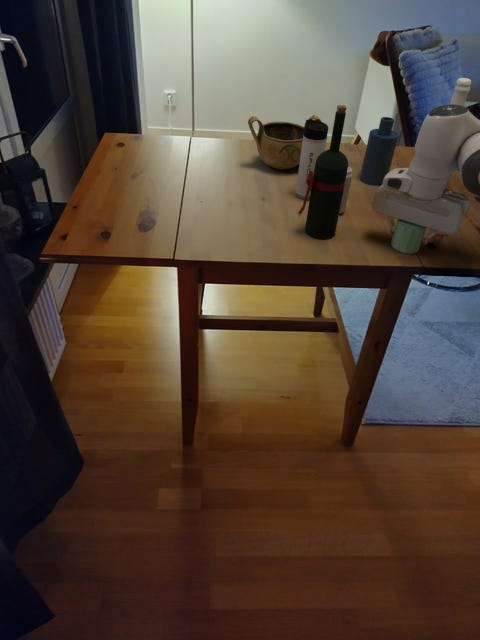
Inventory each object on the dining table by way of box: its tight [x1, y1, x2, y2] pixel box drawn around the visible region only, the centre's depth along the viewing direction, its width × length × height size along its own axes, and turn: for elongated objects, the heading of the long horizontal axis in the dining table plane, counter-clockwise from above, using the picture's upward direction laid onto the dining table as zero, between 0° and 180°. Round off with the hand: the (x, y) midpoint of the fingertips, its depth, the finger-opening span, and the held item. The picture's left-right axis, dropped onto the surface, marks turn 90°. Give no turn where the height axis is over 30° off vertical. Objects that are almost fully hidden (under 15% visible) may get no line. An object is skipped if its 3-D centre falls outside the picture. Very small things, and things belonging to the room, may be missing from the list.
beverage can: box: [339, 165, 353, 215], centre depth 121 cm, size 6×6×12 cm
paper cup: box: [390, 219, 428, 254], centre depth 111 cm, size 7×7×6 cm
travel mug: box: [295, 118, 329, 201], centre depth 125 cm, size 6×7×20 cm
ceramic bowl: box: [247, 114, 322, 170], centre depth 142 cm, size 22×17×15 cm
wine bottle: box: [297, 104, 349, 241], centre depth 106 cm, size 8×10×30 cm
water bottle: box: [359, 116, 399, 186], centre depth 135 cm, size 8×8×18 cm
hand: (407, 237), depth 111 cm, fingers closed on paper cup, 6 cm apart
